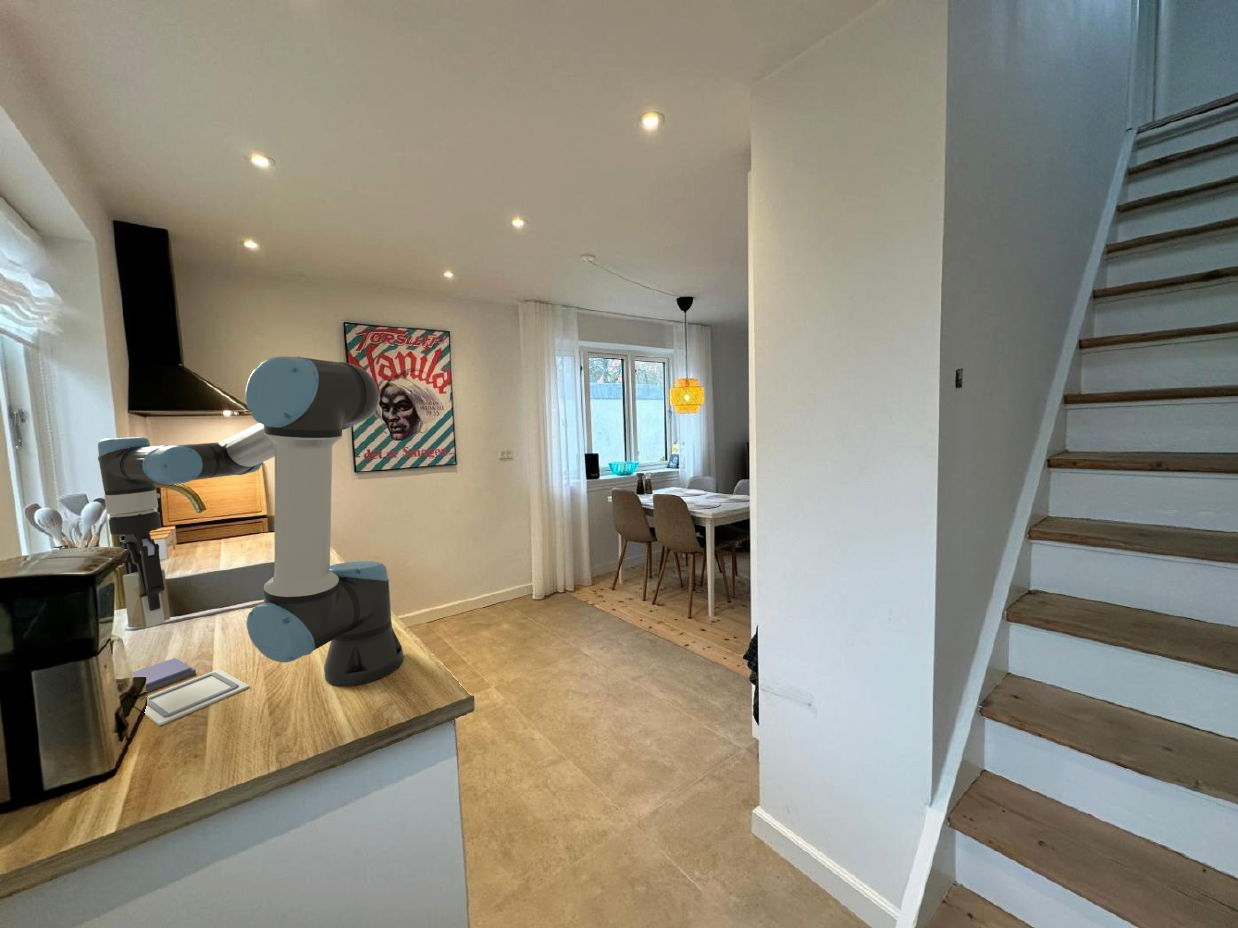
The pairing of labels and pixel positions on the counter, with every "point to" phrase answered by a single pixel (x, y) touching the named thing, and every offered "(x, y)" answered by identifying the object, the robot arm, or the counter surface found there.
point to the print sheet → (191, 696)
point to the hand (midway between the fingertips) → (150, 621)
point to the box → (140, 600)
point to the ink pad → (164, 673)
